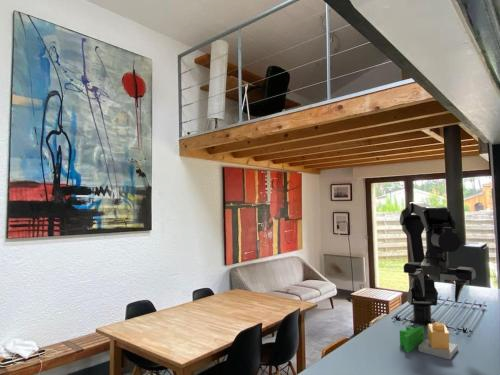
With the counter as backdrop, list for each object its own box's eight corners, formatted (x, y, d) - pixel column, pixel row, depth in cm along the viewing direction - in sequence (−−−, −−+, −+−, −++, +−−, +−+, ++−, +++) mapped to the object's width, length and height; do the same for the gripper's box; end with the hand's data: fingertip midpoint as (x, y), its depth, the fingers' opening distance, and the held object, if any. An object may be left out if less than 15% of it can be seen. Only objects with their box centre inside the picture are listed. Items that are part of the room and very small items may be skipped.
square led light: (427, 338, 101) (427, 320, 100) (444, 339, 100) (444, 321, 99) (431, 347, 96) (431, 328, 96) (449, 349, 95) (449, 329, 94)
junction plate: (428, 341, 104) (427, 325, 104) (458, 349, 99) (457, 331, 99) (418, 351, 98) (417, 333, 98) (450, 359, 92) (449, 340, 93)
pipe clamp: (411, 338, 108) (411, 323, 108) (424, 341, 105) (423, 326, 105) (395, 348, 100) (394, 332, 100) (408, 352, 97) (407, 336, 98)
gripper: (395, 248, 106) (398, 299, 105) (465, 253, 93) (468, 311, 92) (408, 244, 114) (410, 291, 113) (474, 248, 101) (477, 302, 100)
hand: (439, 298), depth 104 cm, fingers open, 9 cm apart
